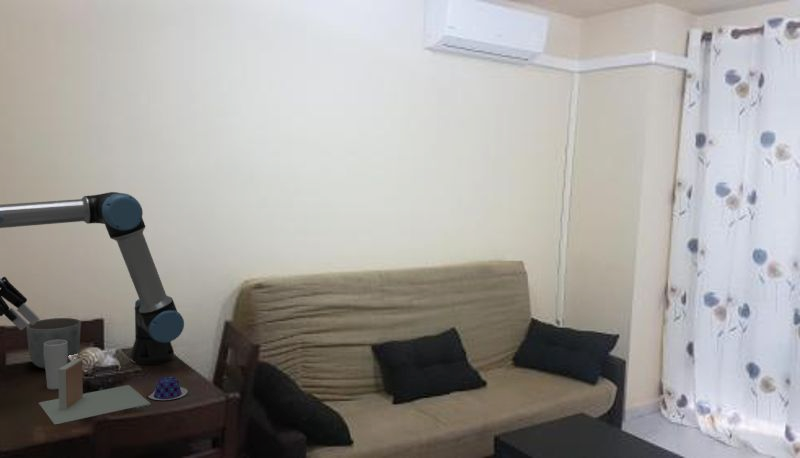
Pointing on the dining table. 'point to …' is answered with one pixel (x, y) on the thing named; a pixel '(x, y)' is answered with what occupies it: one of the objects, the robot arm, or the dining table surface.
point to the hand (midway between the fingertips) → (30, 324)
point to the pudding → (167, 389)
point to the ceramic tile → (70, 383)
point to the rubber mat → (95, 404)
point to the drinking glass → (54, 360)
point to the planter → (52, 336)
